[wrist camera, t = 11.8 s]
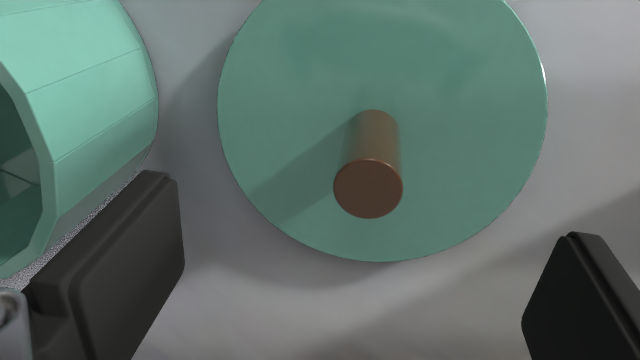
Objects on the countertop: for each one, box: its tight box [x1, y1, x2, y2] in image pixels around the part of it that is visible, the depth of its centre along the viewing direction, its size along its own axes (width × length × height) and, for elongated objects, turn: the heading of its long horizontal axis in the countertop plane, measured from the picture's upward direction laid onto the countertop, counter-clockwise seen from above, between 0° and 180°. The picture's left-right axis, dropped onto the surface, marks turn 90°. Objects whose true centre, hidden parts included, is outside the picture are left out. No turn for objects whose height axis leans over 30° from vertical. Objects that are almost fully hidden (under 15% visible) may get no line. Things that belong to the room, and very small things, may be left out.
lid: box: [217, 0, 547, 262], centre depth 17 cm, size 14×14×6 cm
